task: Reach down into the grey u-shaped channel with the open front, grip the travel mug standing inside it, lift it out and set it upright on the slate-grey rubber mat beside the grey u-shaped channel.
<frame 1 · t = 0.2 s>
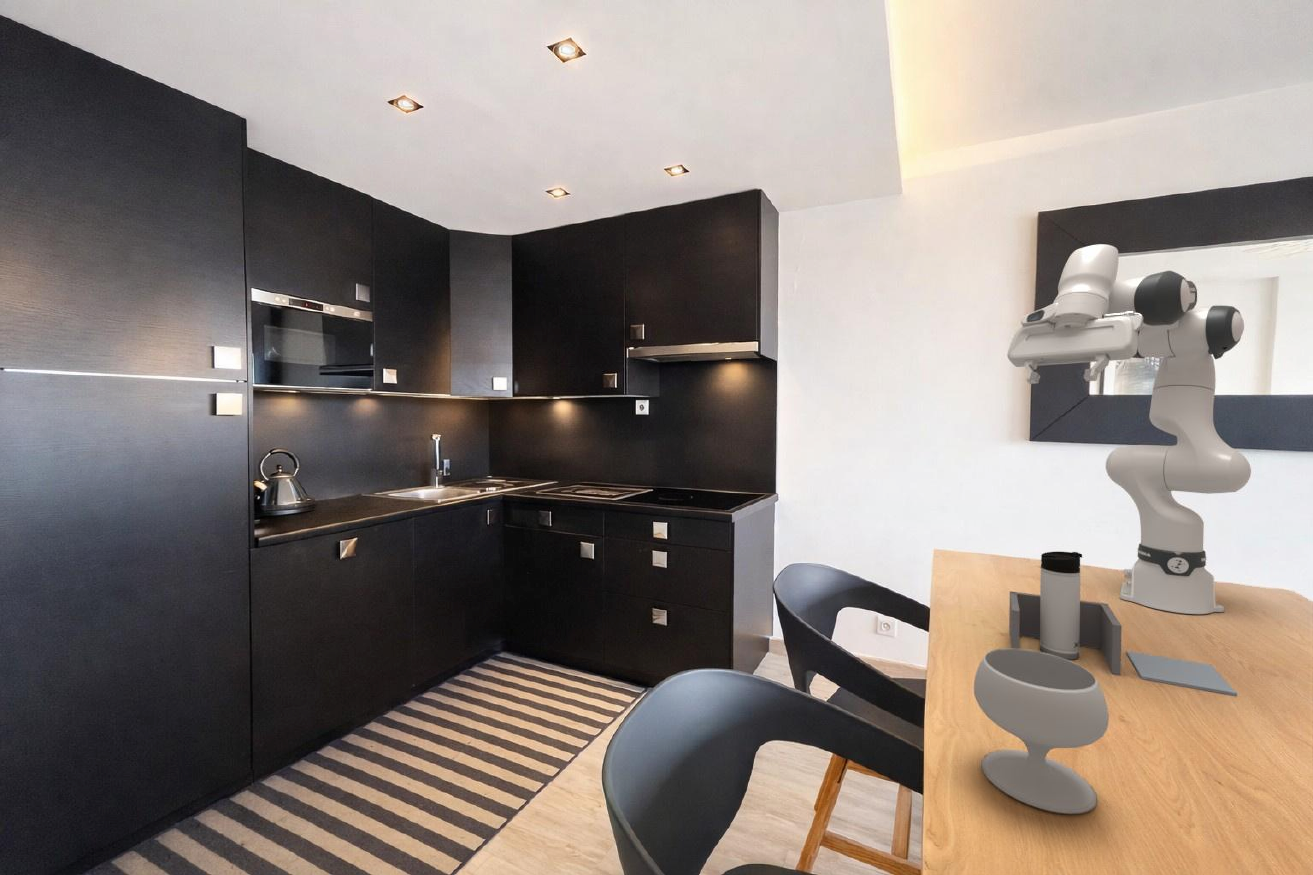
hand: (1059, 381, 103), 53 cm above the table, tool tilted 25°, fingers open, 8 cm apart
travel mug: (1060, 653, 107), on the table
chalice: (1036, 783, 69), on the table
mat: (1176, 672, 98), on the table
grey u-shaped channel: (1060, 652, 107), on the table
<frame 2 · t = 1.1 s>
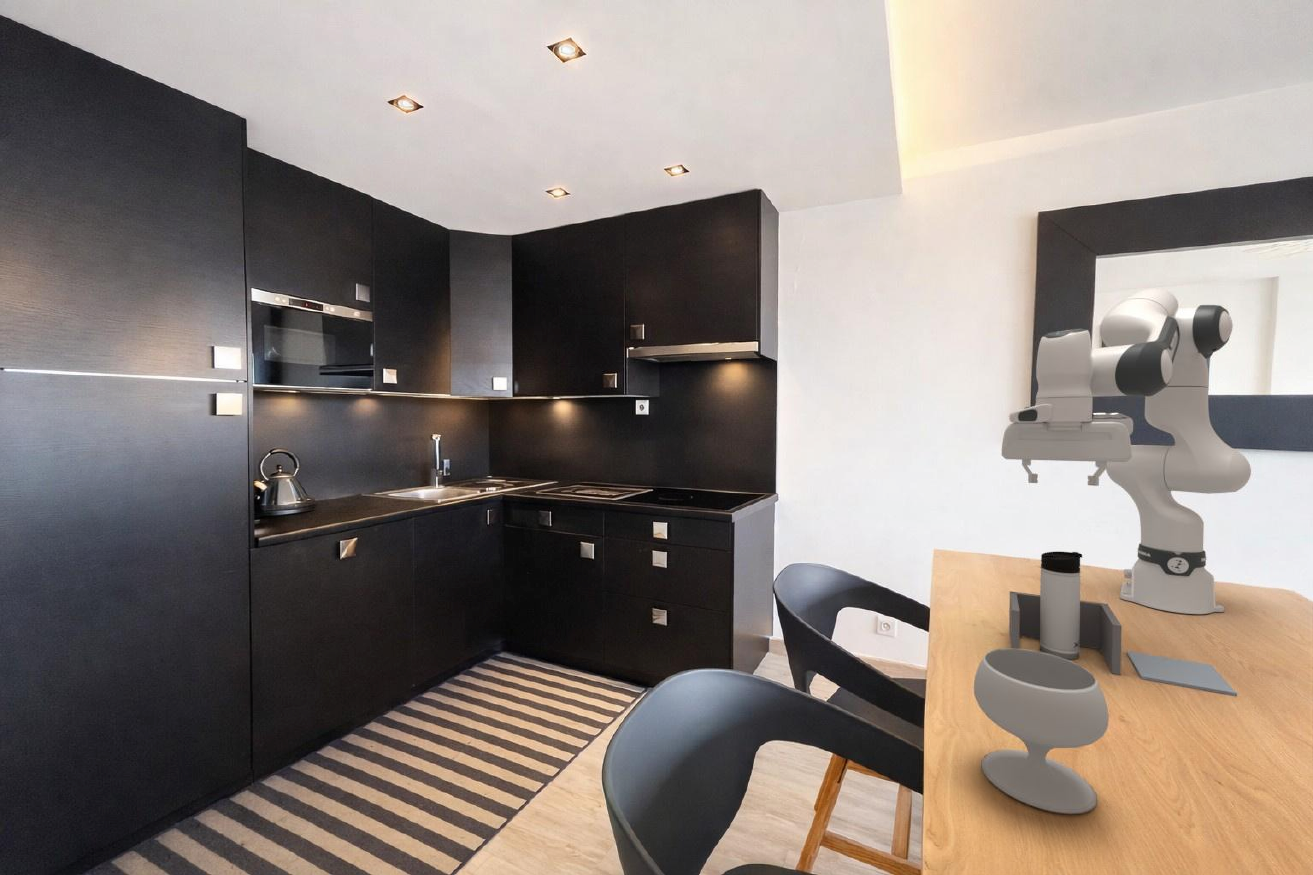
hand: (1062, 484, 105), 33 cm above the table, tool pointing down, fingers open, 8 cm apart
nothing on the table moved.
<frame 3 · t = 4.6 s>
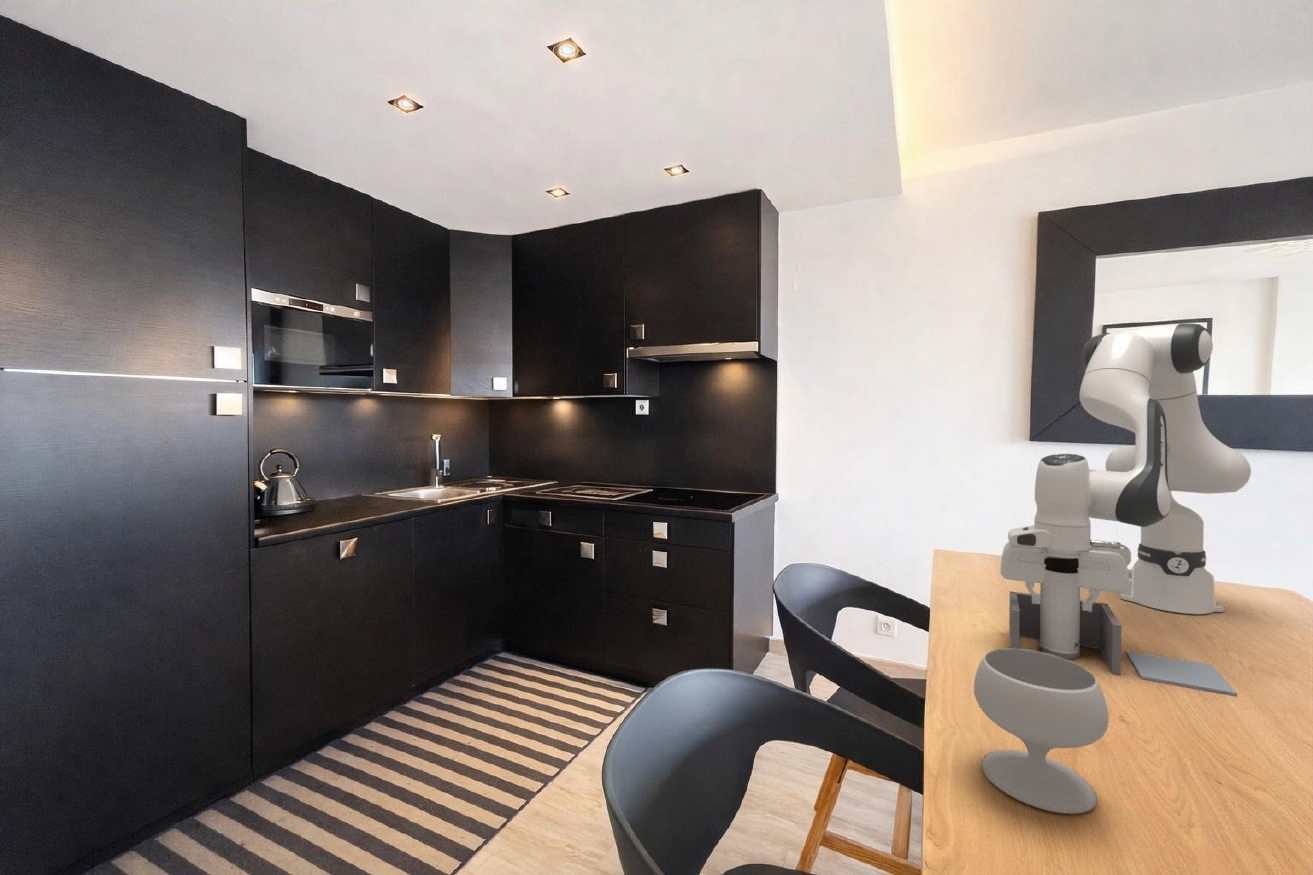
hand: (1060, 607, 106), 9 cm above the table, tool pointing down, fingers open, 6 cm apart
travel mug: (1060, 653, 107), on the table, touching gripper
everything else where it was.
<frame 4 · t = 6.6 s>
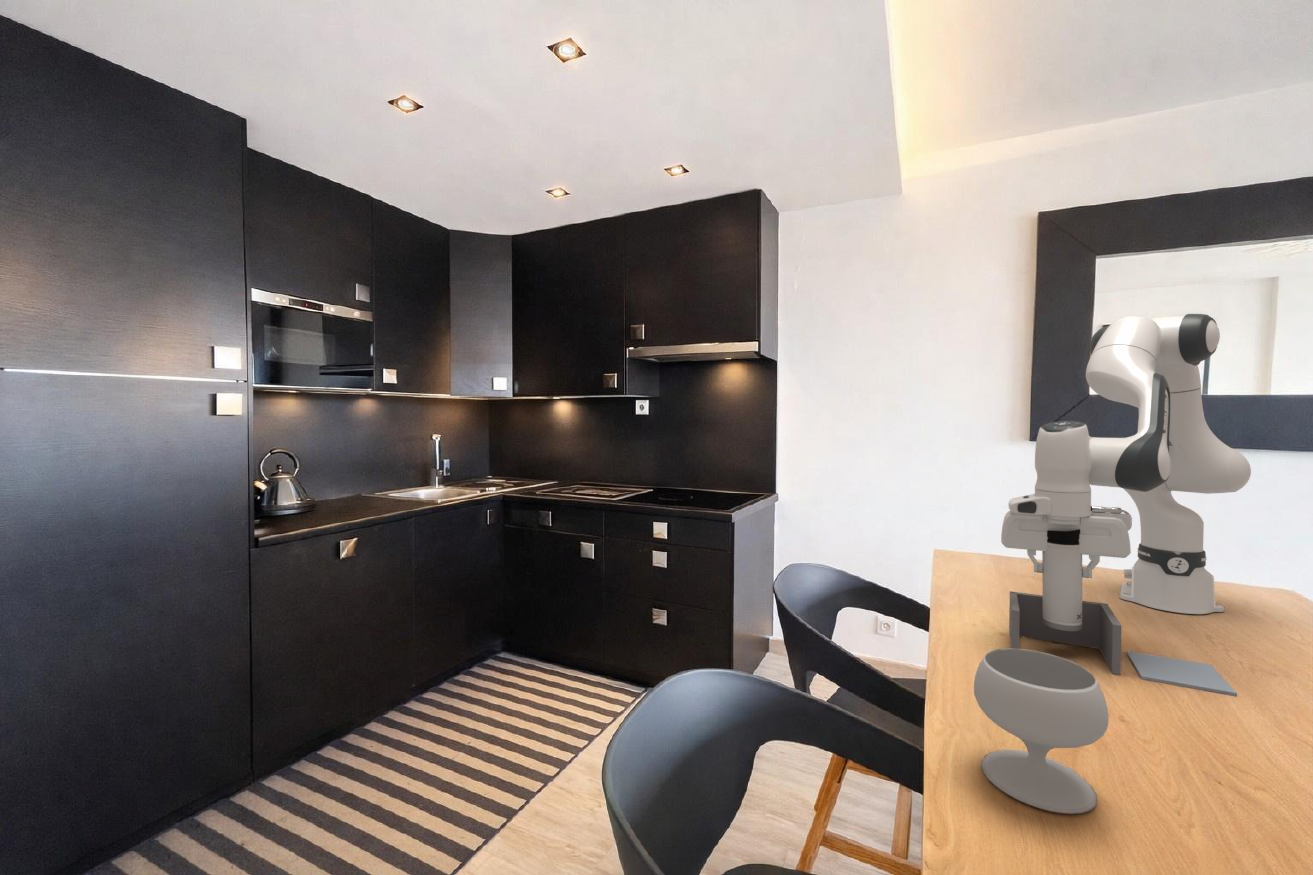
hand: (1061, 574, 106), 16 cm above the table, tool pointing down, fingers closed on travel mug, 6 cm apart
travel mug: (1063, 626, 106), point 5 cm above the table, touching gripper
everything else where it was.
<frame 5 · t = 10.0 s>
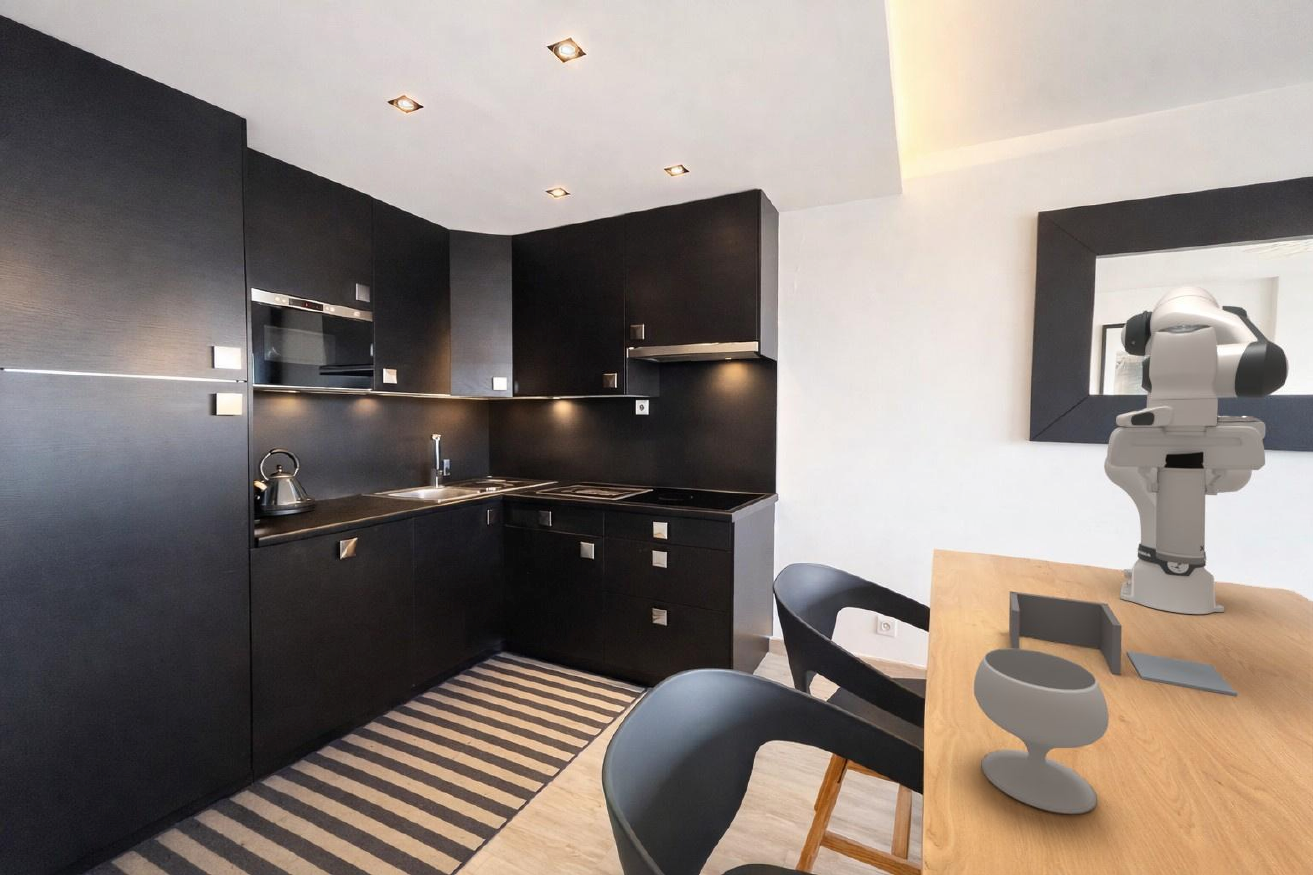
hand: (1180, 493, 97), 33 cm above the table, tool pointing down, fingers closed on travel mug, 6 cm apart
travel mug: (1180, 561, 97), point 20 cm above the table, touching gripper
everything else where it was.
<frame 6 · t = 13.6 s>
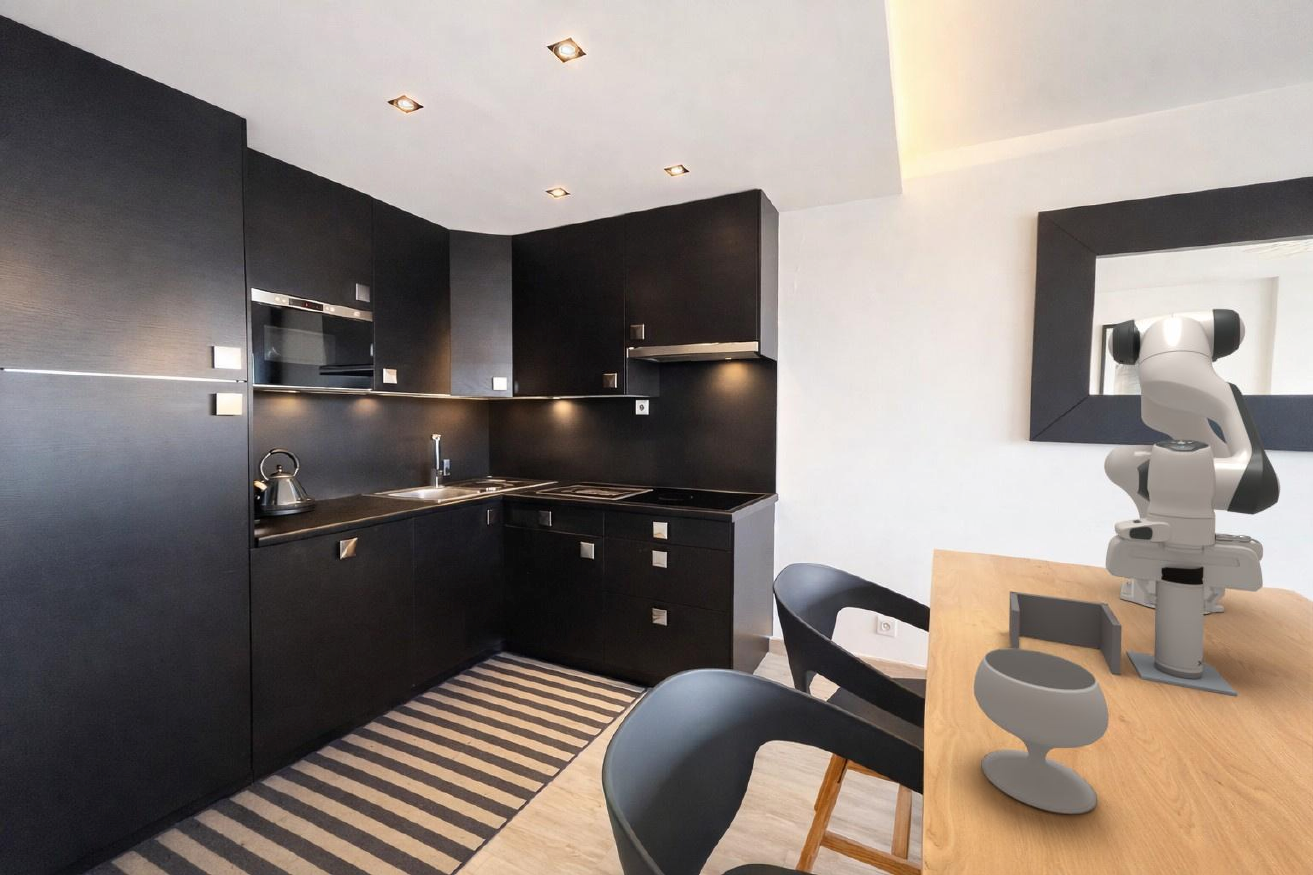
hand: (1178, 607, 97), 12 cm above the table, tool pointing down, fingers closed on travel mug, 6 cm apart
travel mug: (1178, 672, 97), resting on mat, touching gripper
everything else where it was.
when the fingers open (11 cm above the table, at t = 14.9 s): travel mug stays where it is, resting on mat.
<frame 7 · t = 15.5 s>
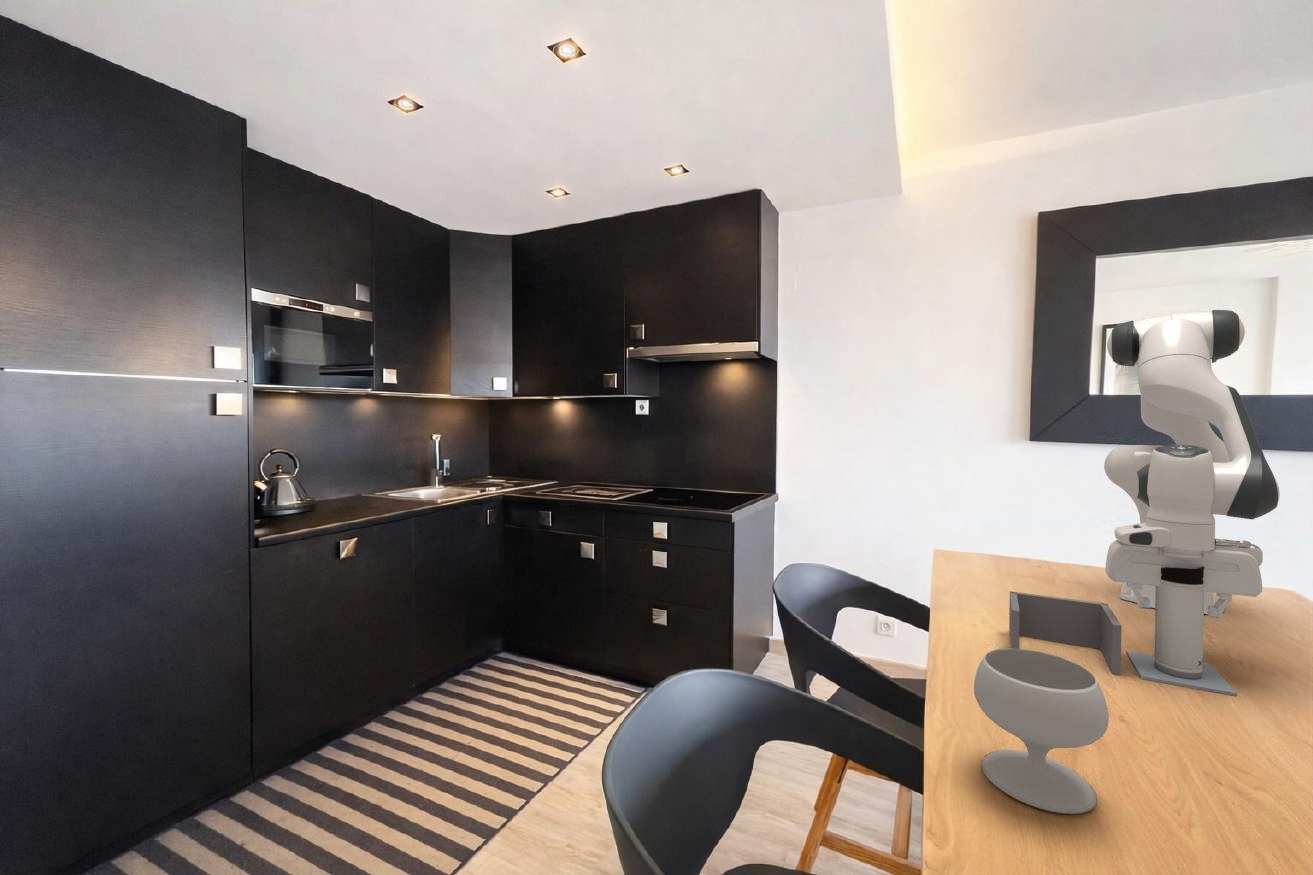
hand: (1178, 612, 97), 11 cm above the table, tool pointing down, fingers open, 8 cm apart
travel mug: (1178, 672, 97), resting on mat
everything else where it was.
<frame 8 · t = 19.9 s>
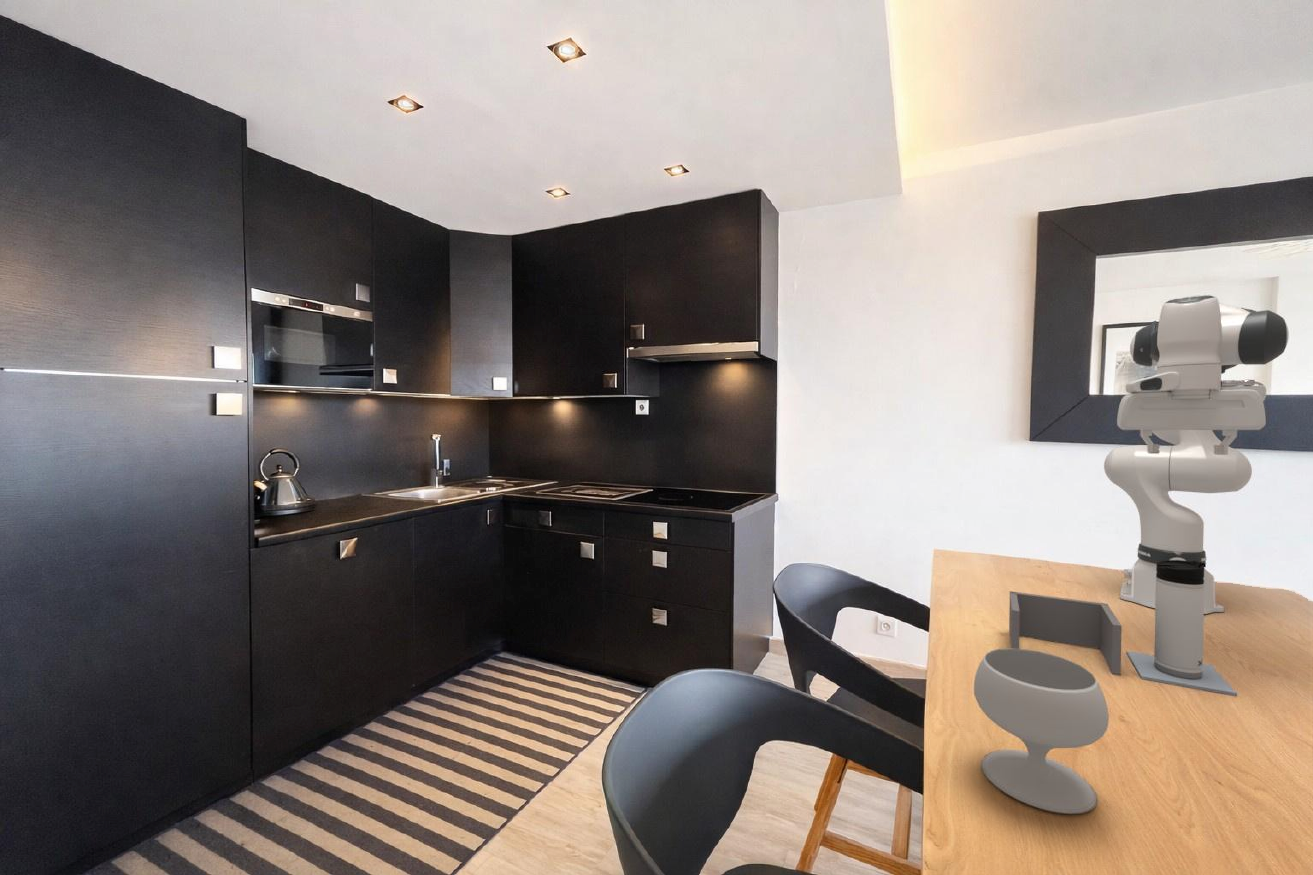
hand: (1186, 454, 103), 39 cm above the table, tool pointing down, fingers open, 8 cm apart
nothing on the table moved.
at the end: travel mug inside the target area on the mat (0.5 cm from its centre), point 0.3 cm above the mat's base; travel mug tilted 0°; the gripper is holding nothing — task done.
